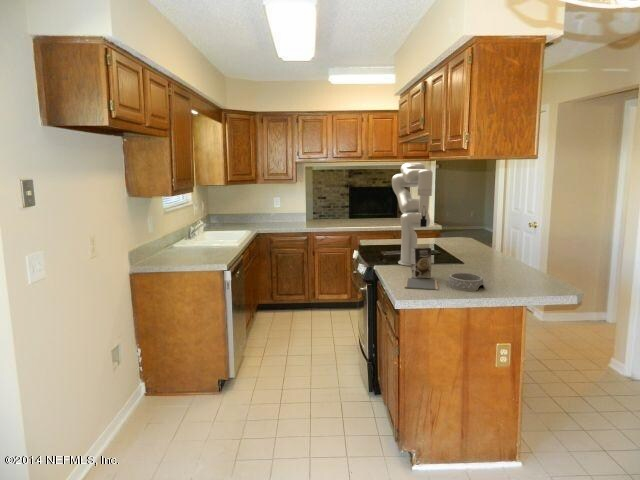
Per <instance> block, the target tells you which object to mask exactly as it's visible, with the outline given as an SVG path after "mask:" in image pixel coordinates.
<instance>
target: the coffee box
mask: <svg viewBox="0 0 640 480" xmlns="http://www.w3.org/2000/svg"><path fill="white" fill-rule="evenodd" d="M410 268H411V269H410V276H411V277H410V278H416V279H431V278H432V248H431V247H417V248H411V266H410Z"/></svg>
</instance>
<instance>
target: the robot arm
mask: <svg viewBox="0 0 640 480" xmlns="http://www.w3.org/2000/svg"><path fill="white" fill-rule="evenodd" d="M391 187H392V191H393V192H394V194H395V195H396V198H397V202H398V207H399V210H400V212H401V215H400V227H401V229H400V231H401V238H400V239H401V242H400V244H401V245H400V246H401V247H400V259H399V260H398V261H397V263H398V264H399V265H402V266H405V267H406V266H408V267H411V248H418V234H417V232H416V231H415V230H414V229H426V228H428V227H429V226H430V223H431V218H430V214H429V208H430V197H431V196H432V195H433V171H432V170H430V169H427V168H426V166H425V164H423V163H422V162H405V163H403V164H402V165H401V166H400V173H396V174H395V175H393V176H392V178H391ZM406 188H417V196H419V197H418V198H413V197H412V194H411V193H410V191H409V190H408V189H406Z"/></svg>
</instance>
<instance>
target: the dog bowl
mask: <svg viewBox="0 0 640 480" xmlns="http://www.w3.org/2000/svg"><path fill="white" fill-rule="evenodd" d="M446 283H447V284H446V286H447V287H449V288H451V289H453V290H457V291H462V290H463V291H464V292H477V291H476V290H479V287H480V286H482V285H483V286H482V287H485V285H484V284H485V282H484V278H483V276H481V275H479V274H476V273H471V272H453V273H450V274H449V277H448V280H447V282H446Z"/></svg>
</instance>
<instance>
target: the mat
mask: <svg viewBox="0 0 640 480" xmlns="http://www.w3.org/2000/svg"><path fill="white" fill-rule="evenodd" d="M404 289H412V290H428V291H439V290H438V279H434V278H433V279H431V278H413V277H406V278H405V283H404Z"/></svg>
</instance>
